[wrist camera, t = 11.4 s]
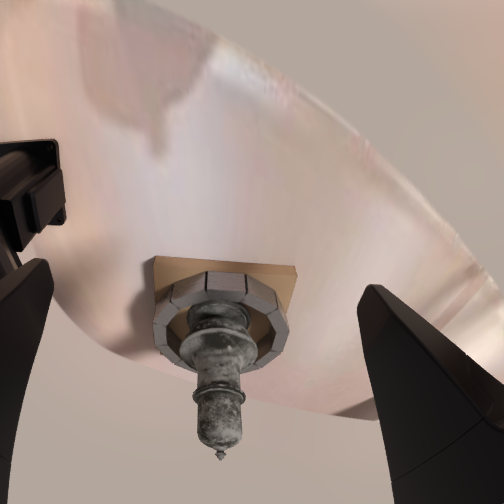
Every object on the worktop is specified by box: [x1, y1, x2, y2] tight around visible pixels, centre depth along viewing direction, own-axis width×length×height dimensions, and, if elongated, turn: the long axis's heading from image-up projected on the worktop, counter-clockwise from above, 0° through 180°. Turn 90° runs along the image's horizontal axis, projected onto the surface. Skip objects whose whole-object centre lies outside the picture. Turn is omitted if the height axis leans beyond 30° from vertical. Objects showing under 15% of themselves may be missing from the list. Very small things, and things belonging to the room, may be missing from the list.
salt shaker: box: [179, 300, 258, 460], centre depth 21 cm, size 6×6×12 cm
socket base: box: [153, 256, 297, 374], centre depth 25 cm, size 11×11×3 cm
